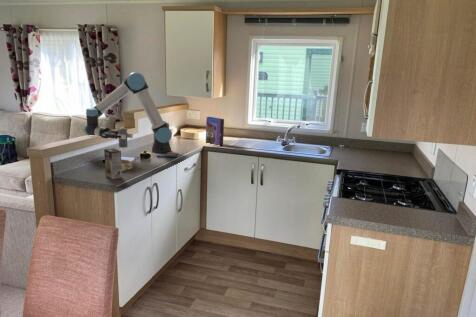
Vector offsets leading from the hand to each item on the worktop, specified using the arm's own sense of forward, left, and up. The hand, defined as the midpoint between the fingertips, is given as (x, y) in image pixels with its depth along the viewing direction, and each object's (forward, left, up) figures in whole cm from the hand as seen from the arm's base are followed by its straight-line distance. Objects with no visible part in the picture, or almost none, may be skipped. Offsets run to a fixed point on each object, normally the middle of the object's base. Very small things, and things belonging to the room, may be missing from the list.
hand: (128, 136), depth 227 cm
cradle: (+11, +3, -19) cm, 22 cm away
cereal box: (-94, +12, -19) cm, 97 cm away
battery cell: (0, -5, -8) cm, 9 cm away
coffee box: (+26, +12, -19) cm, 34 cm away
